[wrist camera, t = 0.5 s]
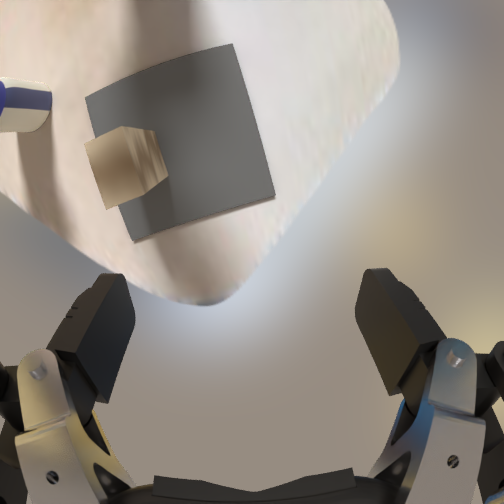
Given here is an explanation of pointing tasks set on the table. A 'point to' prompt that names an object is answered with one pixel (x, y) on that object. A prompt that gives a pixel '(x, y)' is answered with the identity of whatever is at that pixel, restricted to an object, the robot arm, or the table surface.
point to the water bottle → (23, 104)
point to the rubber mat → (189, 137)
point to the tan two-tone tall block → (125, 164)
